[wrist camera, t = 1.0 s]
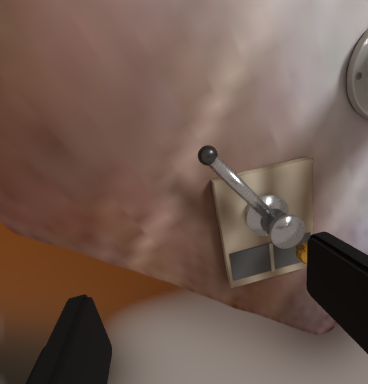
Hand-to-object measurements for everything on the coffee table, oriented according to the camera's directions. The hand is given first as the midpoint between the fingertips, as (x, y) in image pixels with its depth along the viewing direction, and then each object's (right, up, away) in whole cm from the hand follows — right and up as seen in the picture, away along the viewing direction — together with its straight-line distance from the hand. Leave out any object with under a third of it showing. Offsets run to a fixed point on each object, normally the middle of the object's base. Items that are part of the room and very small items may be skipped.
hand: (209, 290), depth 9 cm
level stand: (+11, -1, +23) cm, 25 cm away
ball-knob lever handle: (+9, +2, +19) cm, 21 cm away
